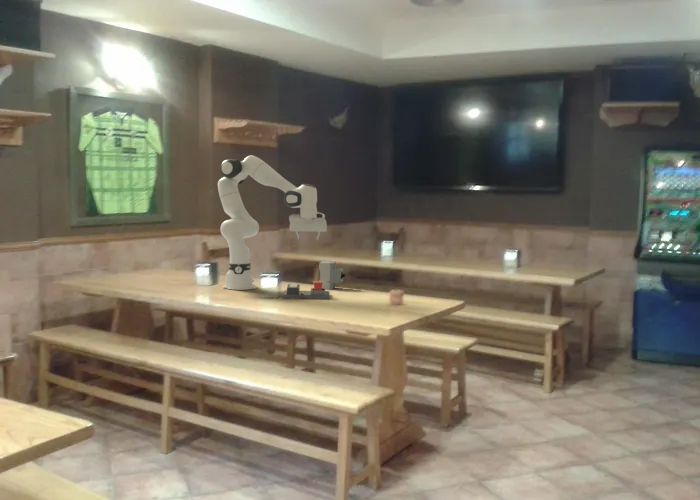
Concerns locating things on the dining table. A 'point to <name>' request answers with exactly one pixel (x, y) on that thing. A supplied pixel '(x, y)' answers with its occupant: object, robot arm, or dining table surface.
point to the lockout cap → (317, 285)
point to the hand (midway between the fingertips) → (308, 240)
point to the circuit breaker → (330, 274)
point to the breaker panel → (305, 293)
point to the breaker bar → (293, 286)
